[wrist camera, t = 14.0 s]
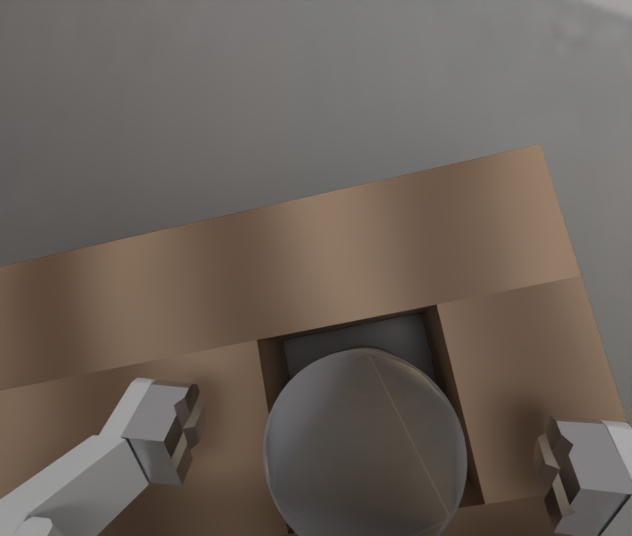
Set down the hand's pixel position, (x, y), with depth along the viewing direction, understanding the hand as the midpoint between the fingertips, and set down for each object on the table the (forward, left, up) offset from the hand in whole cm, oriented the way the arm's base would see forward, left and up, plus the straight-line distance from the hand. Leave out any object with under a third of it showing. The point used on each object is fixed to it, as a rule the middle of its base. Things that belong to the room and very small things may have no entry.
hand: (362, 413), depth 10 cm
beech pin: (0, -1, -6) cm, 7 cm away
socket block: (-3, -1, -6) cm, 7 cm away
